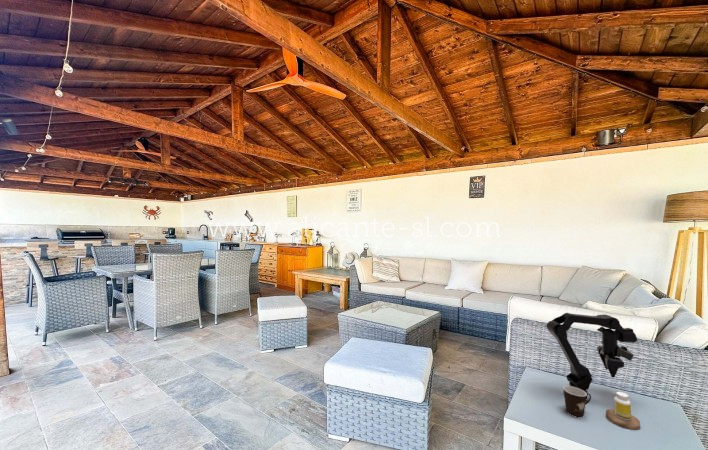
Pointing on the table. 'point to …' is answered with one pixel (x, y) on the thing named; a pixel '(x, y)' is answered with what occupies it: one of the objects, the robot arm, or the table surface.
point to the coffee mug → (575, 400)
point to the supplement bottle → (622, 406)
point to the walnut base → (623, 421)
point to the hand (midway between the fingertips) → (609, 373)
